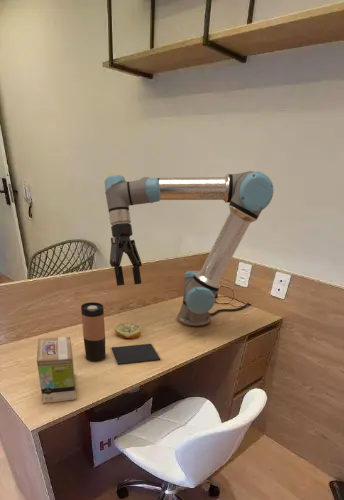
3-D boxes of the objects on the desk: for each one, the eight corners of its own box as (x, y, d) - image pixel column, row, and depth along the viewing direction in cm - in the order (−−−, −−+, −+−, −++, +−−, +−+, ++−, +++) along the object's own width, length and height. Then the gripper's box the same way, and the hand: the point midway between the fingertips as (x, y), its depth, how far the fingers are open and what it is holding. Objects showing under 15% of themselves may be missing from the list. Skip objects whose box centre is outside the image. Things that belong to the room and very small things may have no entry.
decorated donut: (129, 342, 139) (129, 333, 137) (110, 334, 144) (109, 326, 142) (145, 334, 146) (145, 326, 144) (126, 327, 151) (126, 319, 149)
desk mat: (150, 344, 138) (150, 343, 138) (160, 360, 128) (160, 358, 128) (111, 348, 133) (111, 347, 133) (118, 365, 123) (118, 363, 123)
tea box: (77, 400, 104) (72, 357, 96) (42, 404, 101) (34, 361, 93) (74, 374, 116) (70, 335, 108) (43, 377, 113) (36, 337, 105)
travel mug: (96, 350, 131) (92, 300, 120) (110, 356, 128) (108, 306, 117) (81, 357, 126) (75, 306, 115) (95, 364, 122) (91, 312, 111)
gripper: (128, 230, 136) (136, 284, 142) (92, 222, 114) (103, 287, 120) (145, 226, 133) (152, 282, 139) (111, 217, 111) (121, 284, 117)
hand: (129, 284), depth 130 cm, fingers open, 13 cm apart
